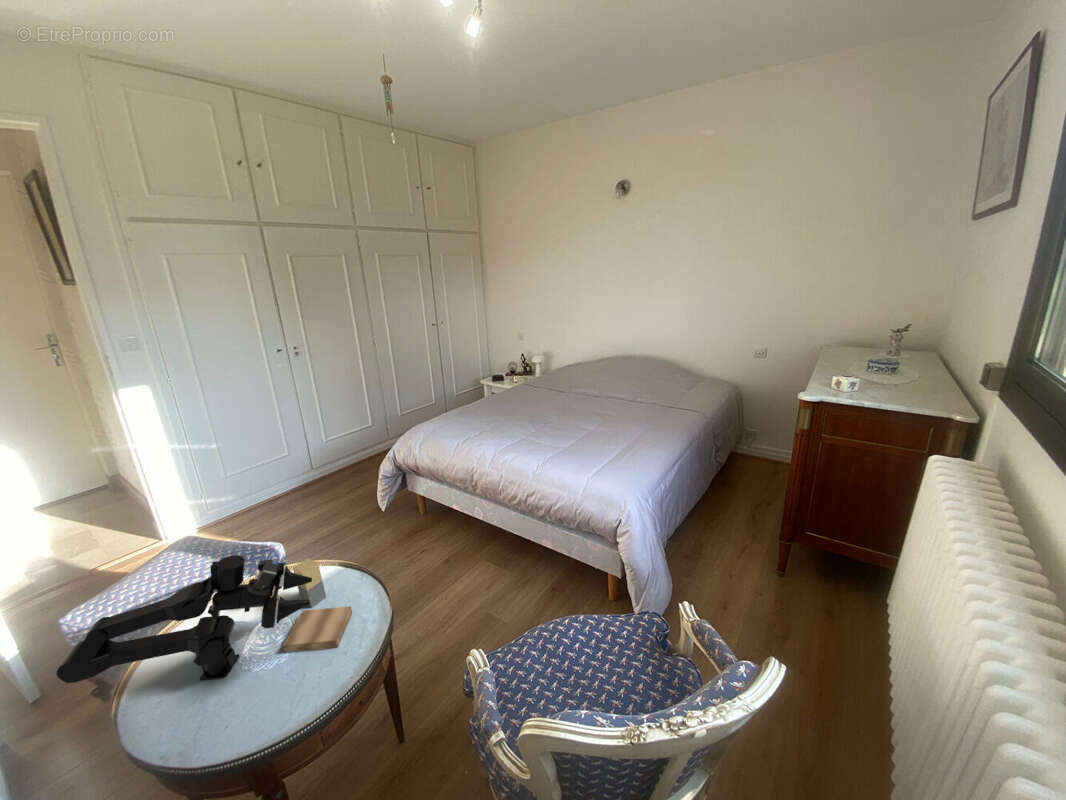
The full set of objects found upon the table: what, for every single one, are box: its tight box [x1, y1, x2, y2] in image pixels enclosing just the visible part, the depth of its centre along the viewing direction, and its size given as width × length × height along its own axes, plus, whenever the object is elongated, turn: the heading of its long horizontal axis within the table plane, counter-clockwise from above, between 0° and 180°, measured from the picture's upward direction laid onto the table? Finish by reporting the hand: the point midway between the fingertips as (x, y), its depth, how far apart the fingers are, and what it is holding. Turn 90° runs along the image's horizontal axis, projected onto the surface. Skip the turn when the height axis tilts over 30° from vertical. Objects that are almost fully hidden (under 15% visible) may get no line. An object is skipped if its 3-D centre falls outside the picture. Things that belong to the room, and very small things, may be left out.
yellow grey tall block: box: [292, 557, 327, 609], centre depth 131 cm, size 5×5×13 cm
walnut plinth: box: [282, 606, 353, 653], centre depth 121 cm, size 14×12×2 cm
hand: (310, 590), depth 115 cm, fingers open, 9 cm apart
